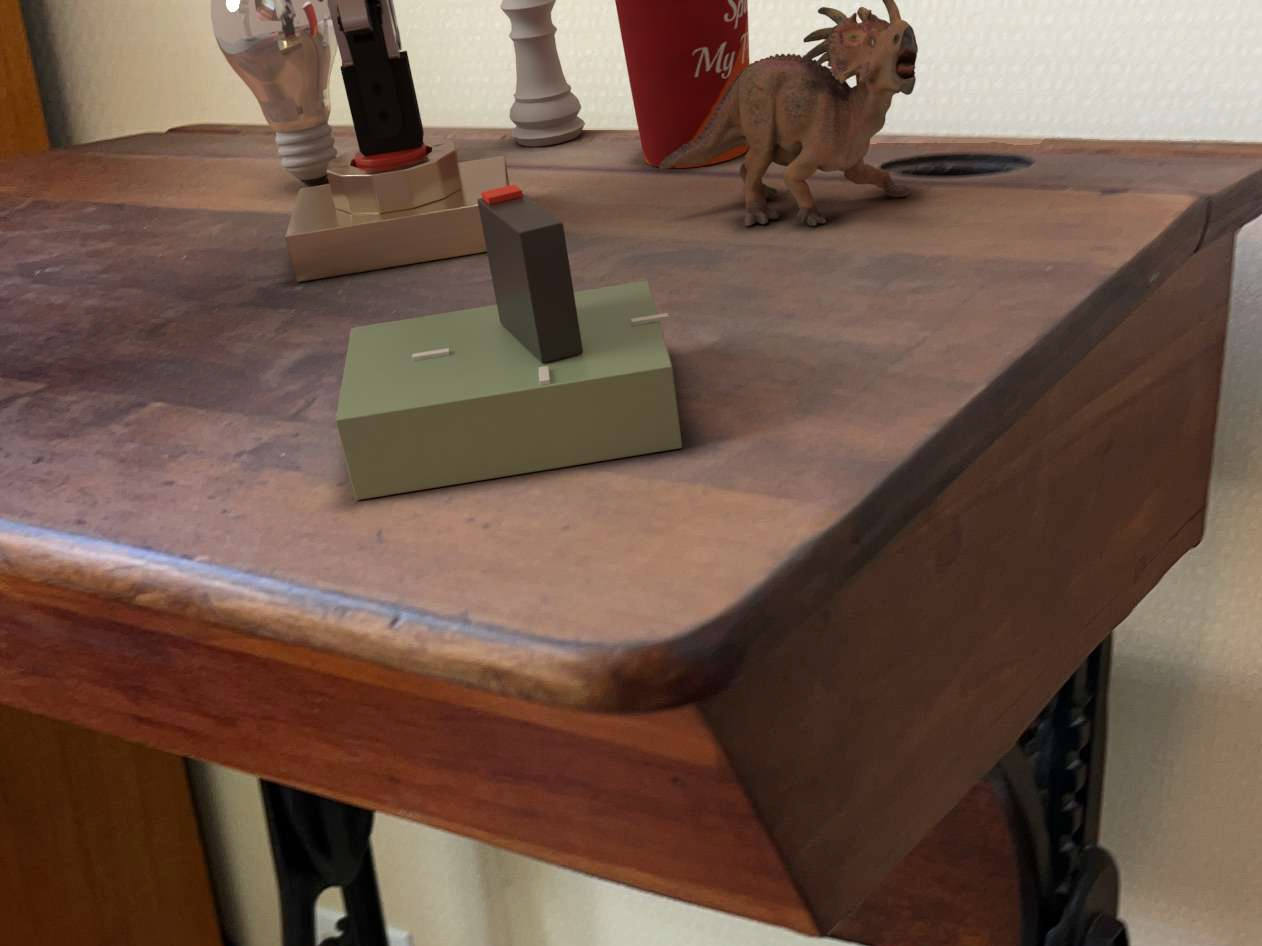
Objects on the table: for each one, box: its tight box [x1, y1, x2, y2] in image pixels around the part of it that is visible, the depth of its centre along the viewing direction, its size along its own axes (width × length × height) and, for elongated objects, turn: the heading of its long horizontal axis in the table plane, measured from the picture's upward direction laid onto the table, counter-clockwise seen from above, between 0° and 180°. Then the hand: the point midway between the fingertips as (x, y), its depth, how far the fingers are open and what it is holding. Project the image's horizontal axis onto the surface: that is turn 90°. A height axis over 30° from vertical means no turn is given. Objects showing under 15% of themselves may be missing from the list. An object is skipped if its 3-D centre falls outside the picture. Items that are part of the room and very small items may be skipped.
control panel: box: [335, 280, 683, 501], centre depth 62 cm, size 12×10×3 cm
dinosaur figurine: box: [659, 0, 919, 227], centre depth 77 cm, size 14×6×9 cm, turn 63°
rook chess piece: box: [499, 0, 586, 147], centre depth 95 cm, size 4×4×8 cm
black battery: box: [477, 184, 583, 363], centre depth 60 cm, size 6×2×5 cm, turn 21°
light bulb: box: [210, 0, 339, 186], centre depth 93 cm, size 7×7×12 cm
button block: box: [284, 136, 511, 283], centre depth 84 cm, size 11×9×4 cm
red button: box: [355, 142, 427, 168], centre depth 83 cm, size 4×4×2 cm
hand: (393, 147), depth 82 cm, fingers closed
